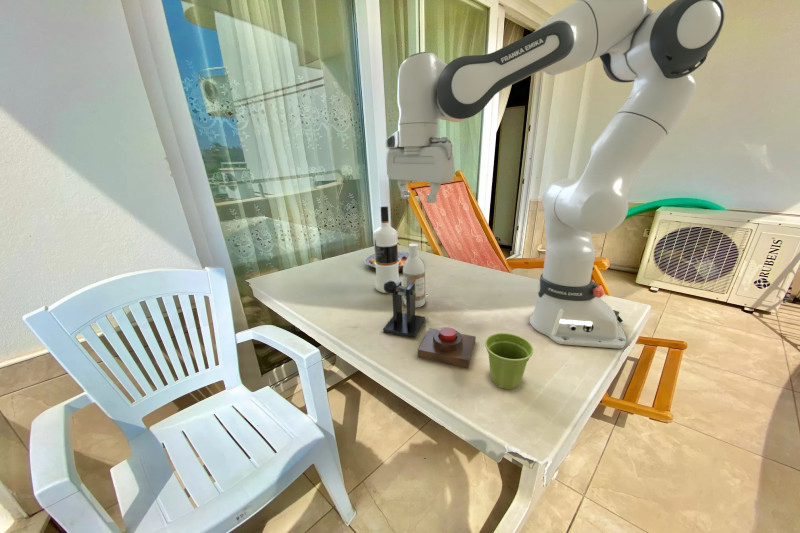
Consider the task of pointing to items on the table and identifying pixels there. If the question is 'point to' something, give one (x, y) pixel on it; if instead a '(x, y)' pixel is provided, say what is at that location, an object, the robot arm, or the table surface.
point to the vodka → (385, 252)
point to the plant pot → (507, 358)
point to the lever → (394, 288)
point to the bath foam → (415, 275)
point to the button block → (447, 348)
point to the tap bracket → (404, 315)
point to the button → (447, 334)
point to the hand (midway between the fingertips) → (417, 200)
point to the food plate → (401, 259)
